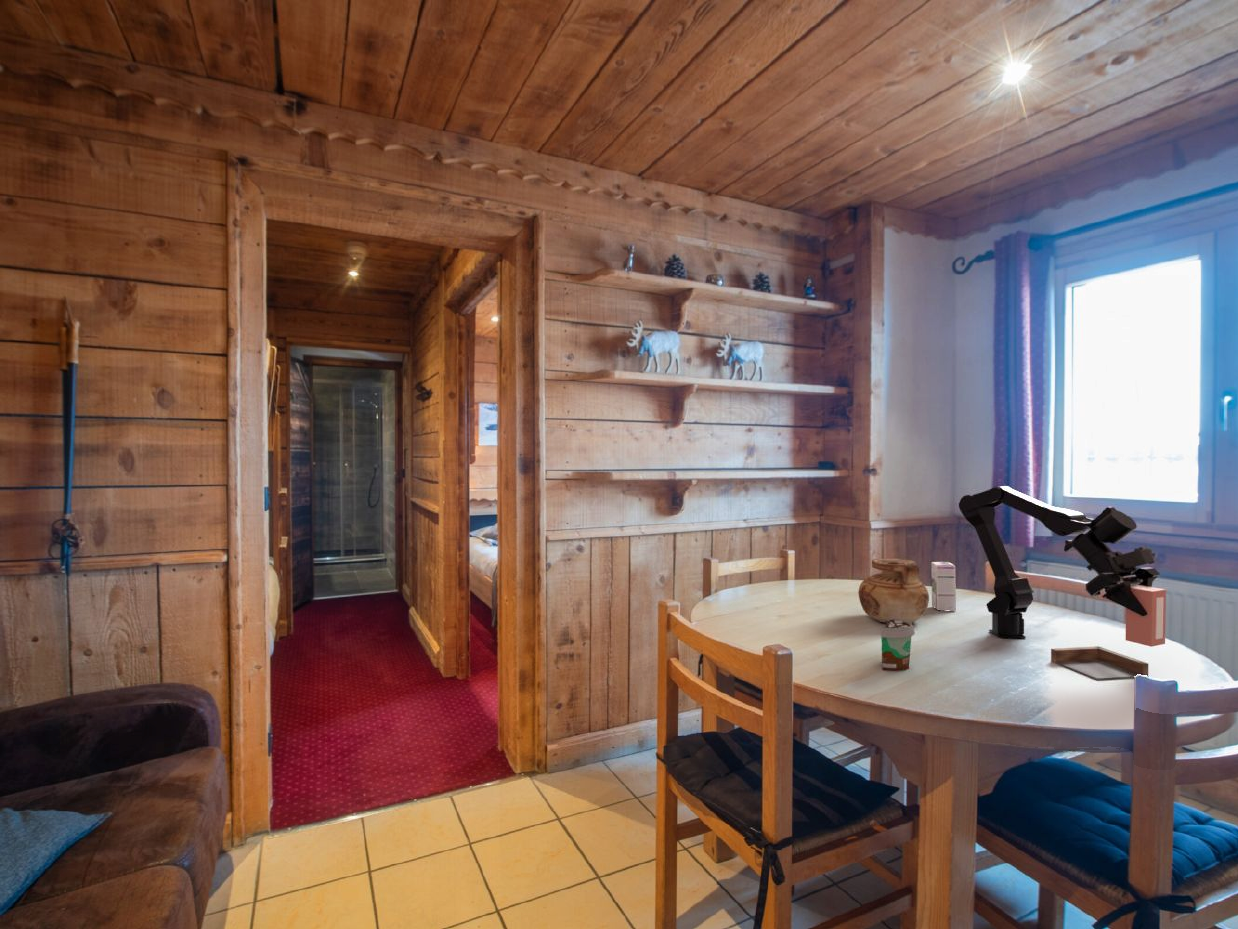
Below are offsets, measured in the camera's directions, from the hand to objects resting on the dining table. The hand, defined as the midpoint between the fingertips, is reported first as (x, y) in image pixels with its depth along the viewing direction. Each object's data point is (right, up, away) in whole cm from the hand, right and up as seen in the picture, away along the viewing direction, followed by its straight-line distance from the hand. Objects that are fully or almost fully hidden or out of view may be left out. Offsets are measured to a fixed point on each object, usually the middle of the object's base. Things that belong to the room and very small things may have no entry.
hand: (1152, 613), depth 139 cm
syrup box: (-15, -13, +59) cm, 63 cm away
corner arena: (-9, -14, +4) cm, 17 cm away
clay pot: (-37, -13, +47) cm, 61 cm away
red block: (0, -7, +1) cm, 7 cm away
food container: (-52, -14, +7) cm, 55 cm away
